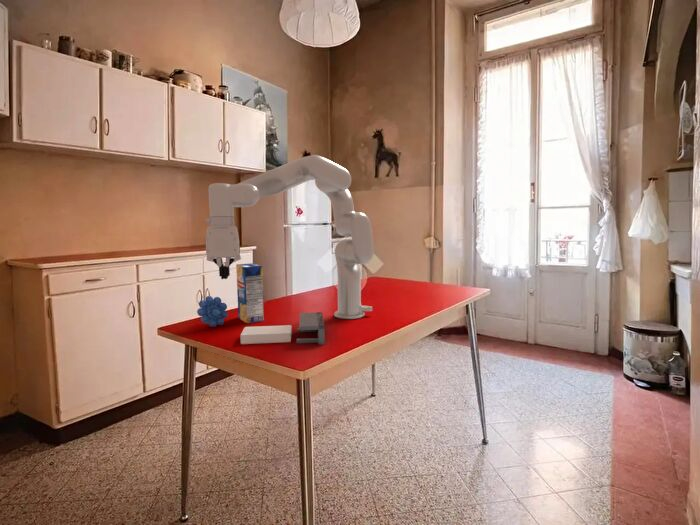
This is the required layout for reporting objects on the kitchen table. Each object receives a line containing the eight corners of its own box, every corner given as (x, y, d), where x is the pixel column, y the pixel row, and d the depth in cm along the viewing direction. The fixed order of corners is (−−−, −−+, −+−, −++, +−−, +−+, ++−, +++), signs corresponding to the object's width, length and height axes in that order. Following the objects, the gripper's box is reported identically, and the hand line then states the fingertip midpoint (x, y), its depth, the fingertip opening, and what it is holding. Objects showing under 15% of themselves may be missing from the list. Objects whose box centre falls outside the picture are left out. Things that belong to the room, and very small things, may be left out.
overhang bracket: (322, 328, 144) (322, 312, 144) (324, 344, 127) (324, 325, 126) (297, 329, 143) (297, 313, 143) (296, 345, 126) (296, 326, 125)
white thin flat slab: (291, 333, 139) (291, 325, 139) (290, 341, 130) (290, 333, 129) (245, 335, 137) (244, 326, 137) (240, 344, 128) (240, 335, 127)
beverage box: (247, 323, 153) (244, 267, 150) (238, 317, 162) (236, 264, 159) (263, 320, 156) (262, 265, 154) (254, 315, 165) (252, 263, 163)
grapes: (202, 332, 142) (200, 299, 140) (195, 328, 147) (193, 296, 145) (233, 326, 149) (231, 294, 148) (225, 322, 154) (224, 292, 153)
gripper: (195, 222, 123) (198, 280, 125) (244, 222, 125) (246, 279, 127) (201, 222, 130) (204, 277, 132) (247, 222, 132) (249, 276, 134)
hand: (224, 278), depth 130 cm, fingers closed
